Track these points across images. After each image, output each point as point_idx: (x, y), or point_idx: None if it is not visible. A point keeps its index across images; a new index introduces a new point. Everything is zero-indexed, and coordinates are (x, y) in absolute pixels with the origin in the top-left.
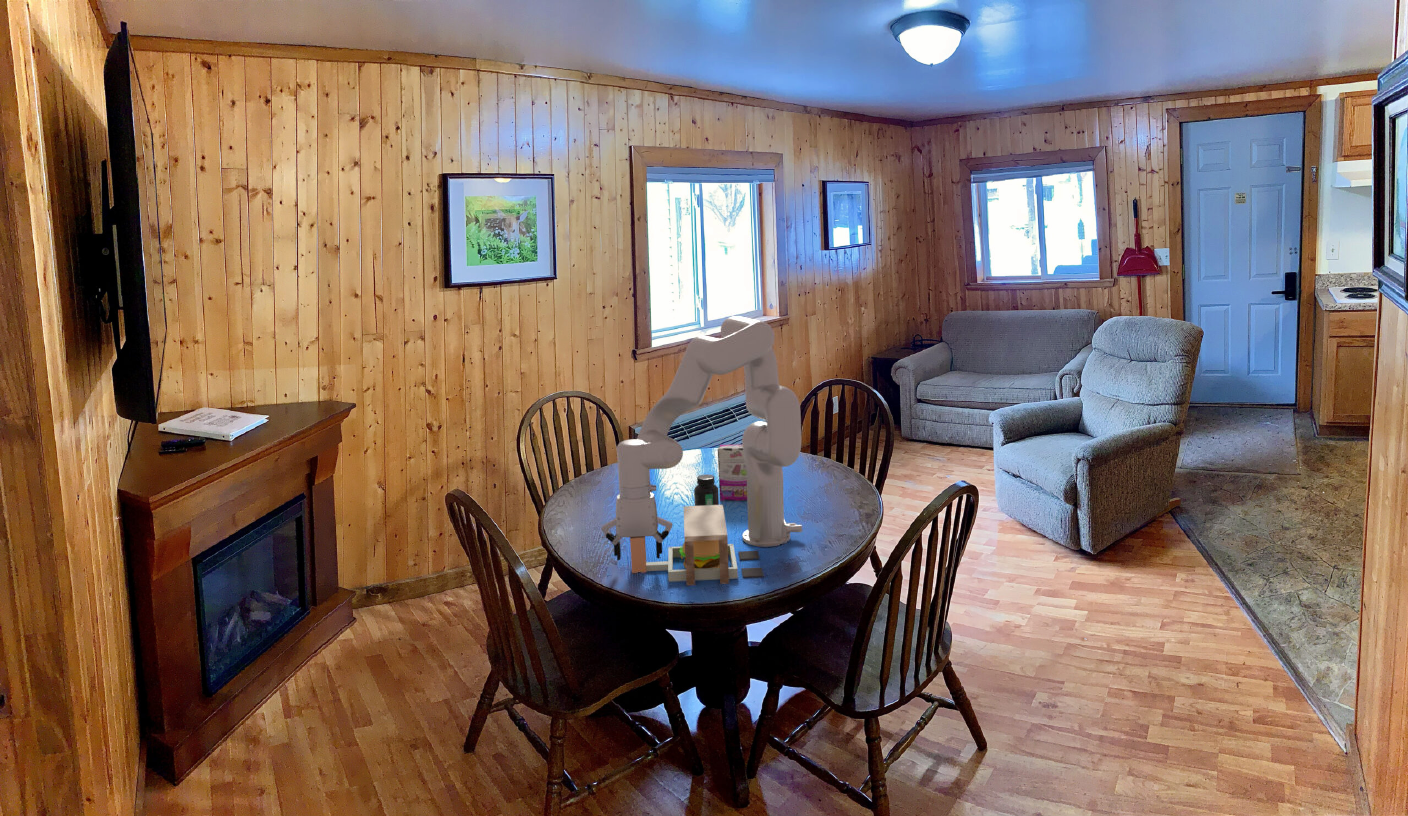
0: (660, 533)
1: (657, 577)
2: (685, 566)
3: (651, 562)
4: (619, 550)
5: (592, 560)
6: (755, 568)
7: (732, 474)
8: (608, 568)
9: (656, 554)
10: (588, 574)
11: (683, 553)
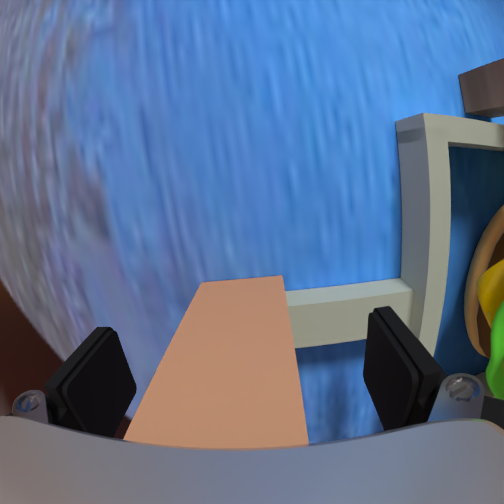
0: (479, 415)
1: (341, 387)
2: (469, 331)
3: (318, 310)
4: (115, 430)
5: (11, 190)
6: None
7: None
8: (88, 285)
9: (369, 392)
10: (46, 337)
11: (499, 364)
